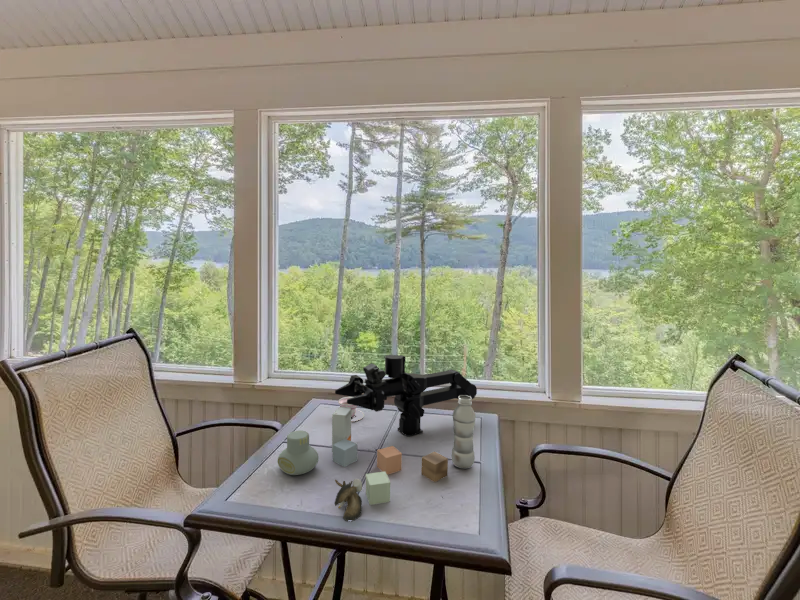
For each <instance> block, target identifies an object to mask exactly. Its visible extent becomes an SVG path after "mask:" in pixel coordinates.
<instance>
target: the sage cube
mask: <svg viewBox="0 0 800 600" xmlns="http://www.w3.org/2000/svg"><path fill="white" fill-rule="evenodd" d="M389 478H390V477H389V475H387V474H386V472H385V471H384V472H382V471H379V472H371V473H370V472H369V473H365V495H366V498H367V501H368V504H369V506H371V505H378V504H384V503H390V502H391V481H390V479H389Z"/></svg>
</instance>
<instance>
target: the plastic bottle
mask: <svg viewBox="0 0 800 600" xmlns="http://www.w3.org/2000/svg"><path fill="white" fill-rule="evenodd" d="M457 404H458V405H457V406H456V407H455V408H454V410H453V413H452V421H453V432H454V433H453V437H454V438H453V446H452V450H451V461H452V463H453V465H454V466H455V467H456V468H459V469H466V470H467V469H470V468H472V466H473V465H474V464H475V459H476V458H475V451H474V450H475V449H474V440H473V439H474V431H475V430H474V429H475V423H476V418H477V415H476V413H475V411H474V408H473V407H472V405H473V404H472V400H471V397H470V396H467V395H460V396H459V397H458V399H457Z"/></svg>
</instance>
